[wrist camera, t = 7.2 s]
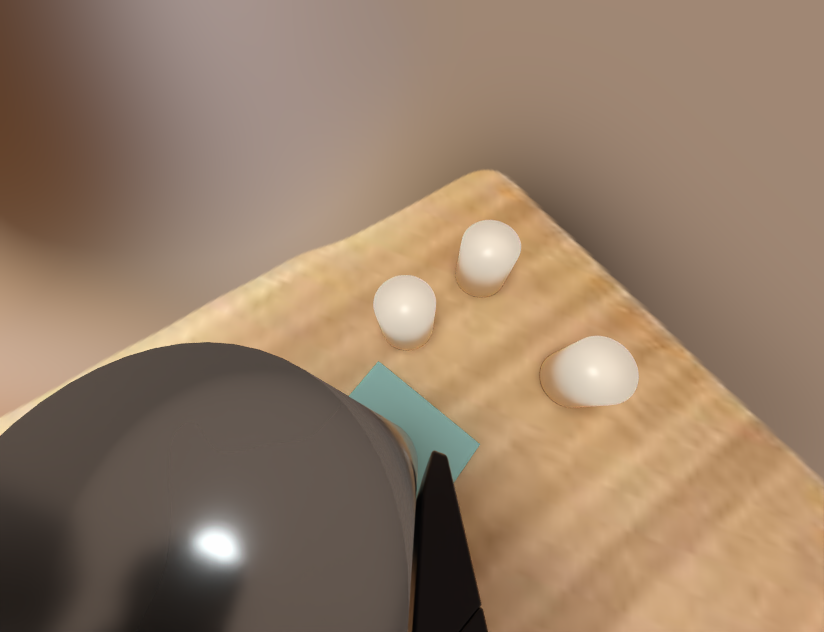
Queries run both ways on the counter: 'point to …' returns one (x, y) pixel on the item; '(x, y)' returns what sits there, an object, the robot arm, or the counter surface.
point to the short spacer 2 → (590, 373)
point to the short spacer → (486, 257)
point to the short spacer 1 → (405, 311)
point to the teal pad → (415, 419)
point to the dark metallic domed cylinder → (205, 502)
